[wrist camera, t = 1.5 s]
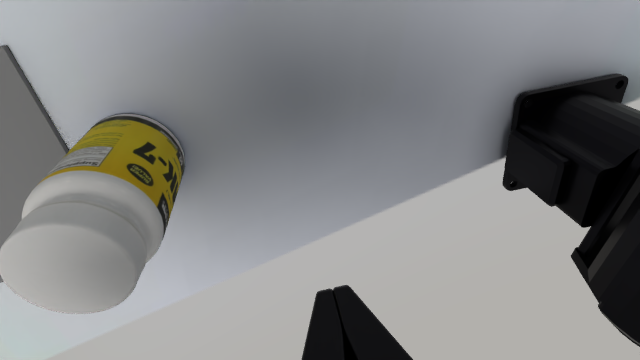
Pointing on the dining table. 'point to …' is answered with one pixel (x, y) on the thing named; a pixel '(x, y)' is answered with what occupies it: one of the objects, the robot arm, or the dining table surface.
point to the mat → (22, 143)
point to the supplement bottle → (95, 218)
